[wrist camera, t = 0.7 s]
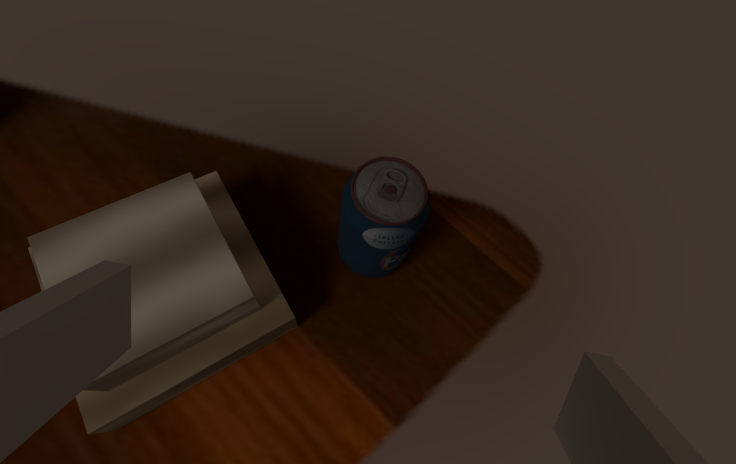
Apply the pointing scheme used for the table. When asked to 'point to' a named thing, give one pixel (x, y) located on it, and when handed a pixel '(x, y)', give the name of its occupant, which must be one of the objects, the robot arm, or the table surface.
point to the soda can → (381, 215)
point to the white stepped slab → (169, 291)
